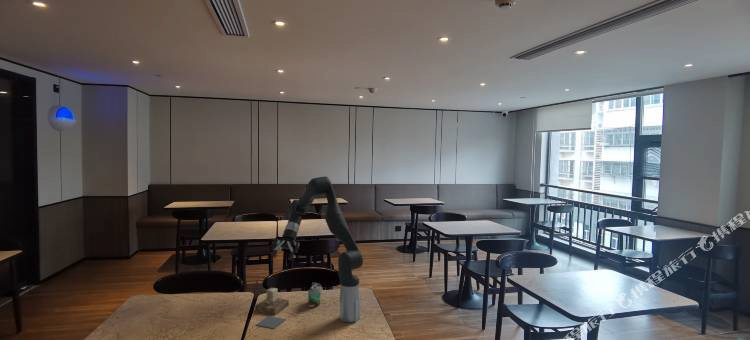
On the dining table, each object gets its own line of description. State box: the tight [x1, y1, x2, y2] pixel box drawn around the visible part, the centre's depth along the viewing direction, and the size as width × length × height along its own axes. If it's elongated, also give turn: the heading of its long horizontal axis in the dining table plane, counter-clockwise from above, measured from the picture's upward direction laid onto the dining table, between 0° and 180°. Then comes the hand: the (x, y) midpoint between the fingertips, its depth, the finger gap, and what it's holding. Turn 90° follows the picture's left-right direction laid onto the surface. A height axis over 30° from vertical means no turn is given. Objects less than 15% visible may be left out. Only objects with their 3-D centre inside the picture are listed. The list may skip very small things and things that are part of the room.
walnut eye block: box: [254, 297, 289, 315], centre depth 196 cm, size 12×12×3 cm
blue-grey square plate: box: [255, 315, 287, 330], centre depth 180 cm, size 10×10×1 cm
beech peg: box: [265, 287, 279, 306], centre depth 196 cm, size 4×4×10 cm
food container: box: [307, 282, 323, 309], centre depth 201 cm, size 12×6×10 cm, turn 179°
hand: (281, 258), depth 204 cm, fingers open, 8 cm apart
